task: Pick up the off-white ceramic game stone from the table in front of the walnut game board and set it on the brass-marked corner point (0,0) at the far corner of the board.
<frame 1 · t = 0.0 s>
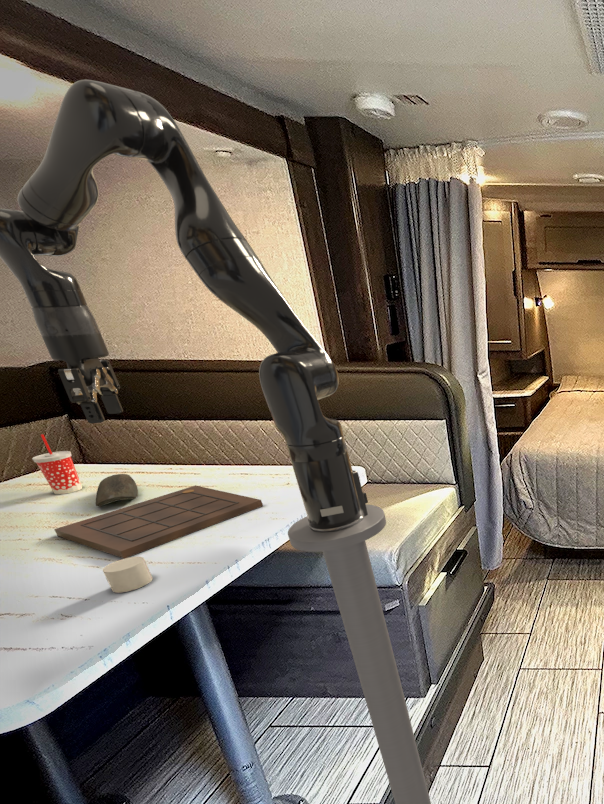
hand: (107, 417, 98), 21 cm above the table, tool pointing down, fingers open, 8 cm apart
beverage cup: (68, 491, 120), on the table
game stone: (132, 584, 81), on the table
game board: (166, 520, 104), on the table
decorative stone: (119, 498, 115), on the table
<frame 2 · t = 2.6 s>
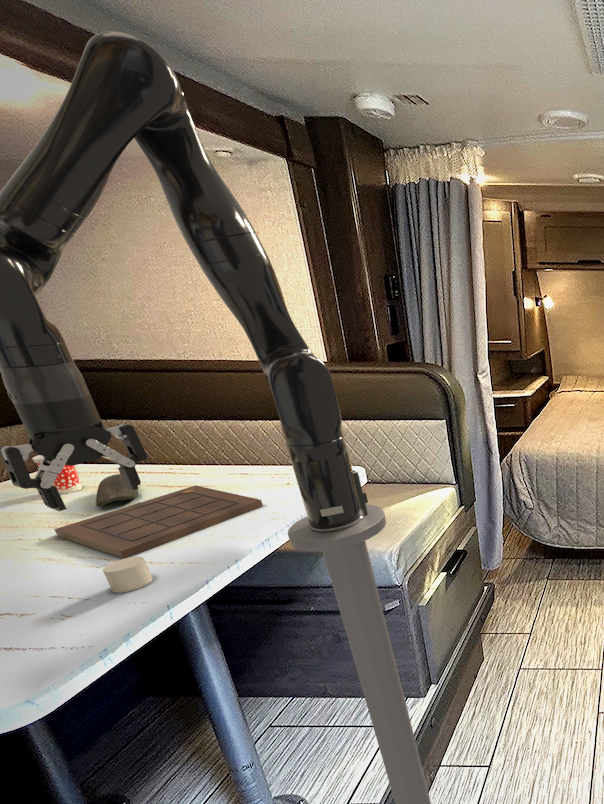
hand: (98, 498, 78), 14 cm above the table, tool pointing down, fingers open, 8 cm apart
nothing on the table moved.
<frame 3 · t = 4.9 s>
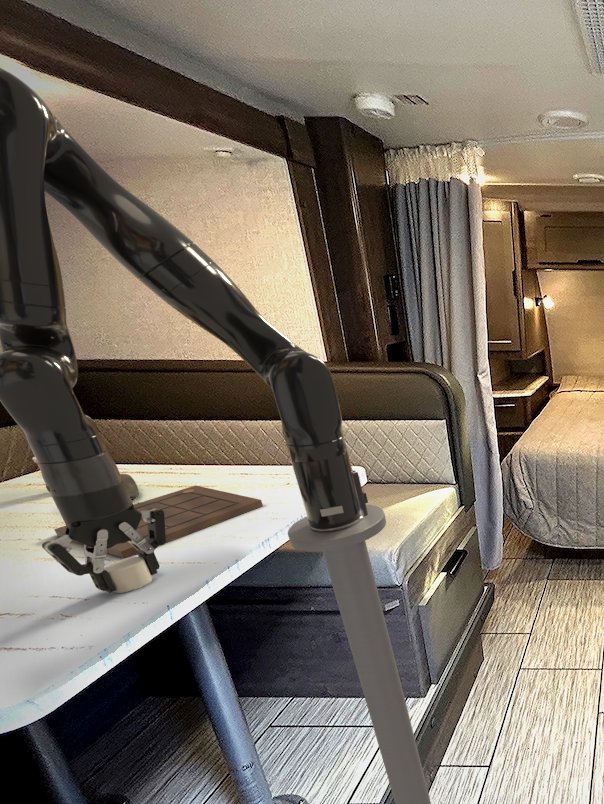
hand: (131, 581, 81), 1 cm above the table, tool pointing down, fingers closed on game stone, 4 cm apart
game stone: (132, 584, 81), on the table, touching gripper
everything else where it was.
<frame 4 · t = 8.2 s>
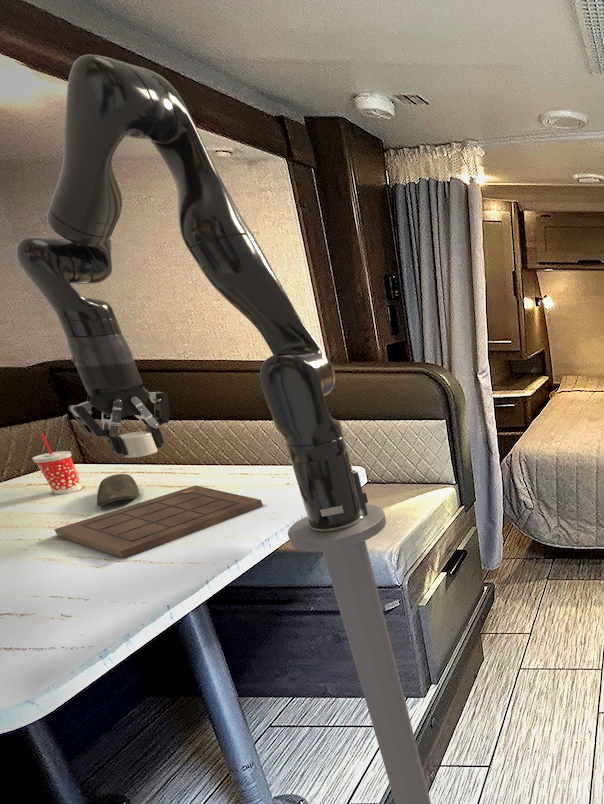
hand: (140, 450, 96), 16 cm above the table, tool pointing down, fingers closed on game stone, 4 cm apart
game stone: (141, 453, 96), point 15 cm above the table, touching gripper
everything else where it was.
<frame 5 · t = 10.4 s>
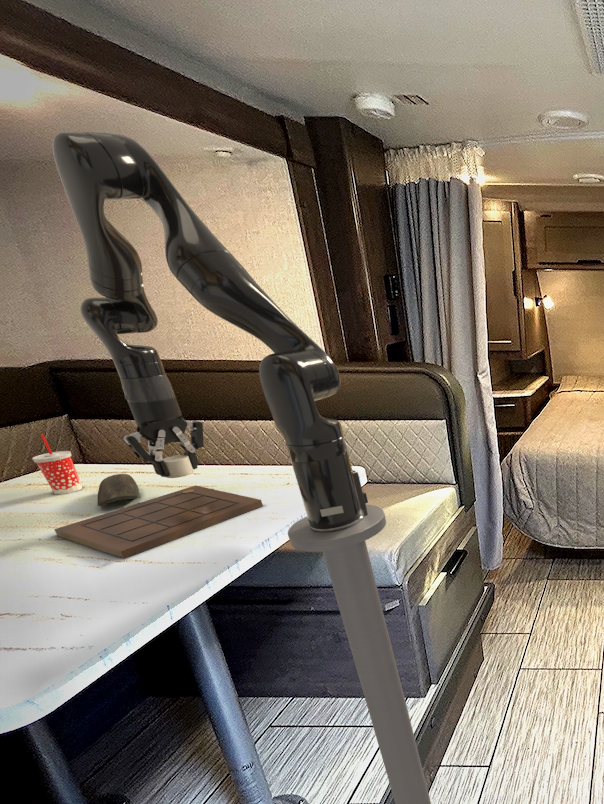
hand: (179, 471, 112), 6 cm above the table, tool pointing down, fingers closed on game stone, 4 cm apart
game stone: (180, 474, 112), point 6 cm above the table, touching gripper
everything else where it was.
when the fingers open (2 cm above the table, at t = 11.9 s): game stone stays where it is, resting on game board.
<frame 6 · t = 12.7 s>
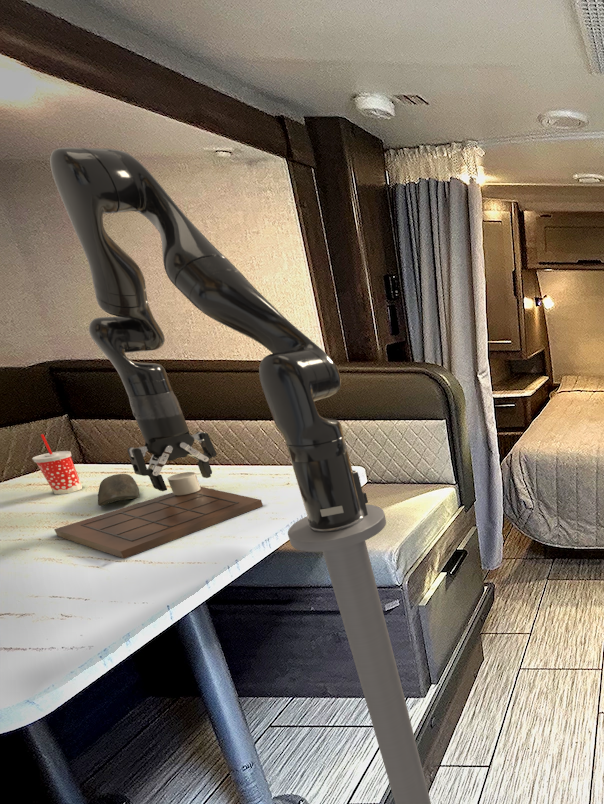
hand: (185, 483, 113), 3 cm above the table, tool pointing down, fingers open, 8 cm apart
game stone: (187, 491, 114), point 2 cm above the table, touching game board
everything else where it was.
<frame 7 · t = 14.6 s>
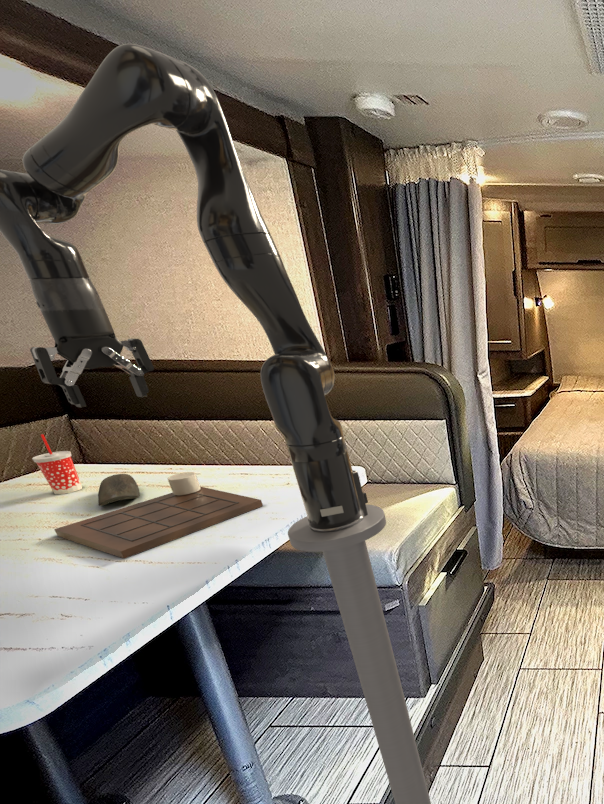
hand: (113, 401, 91), 26 cm above the table, tool pointing down, fingers open, 8 cm apart
nothing on the table moved.
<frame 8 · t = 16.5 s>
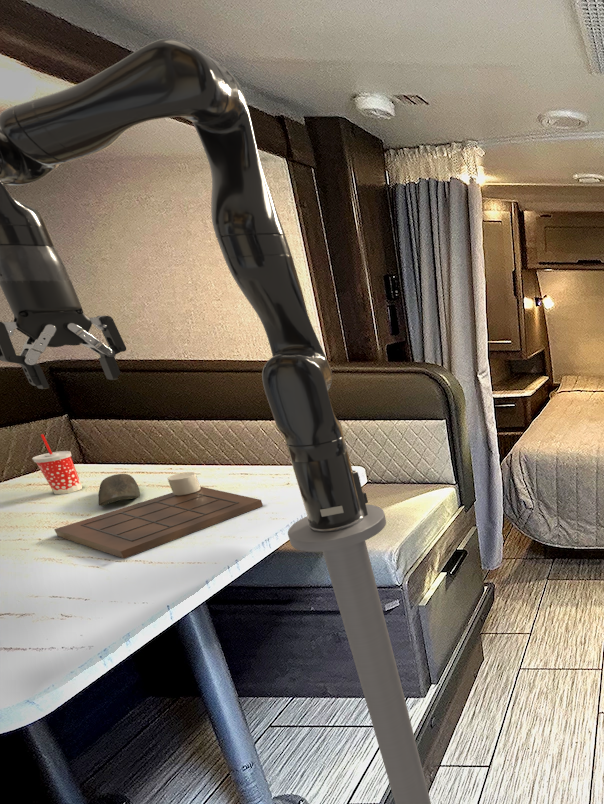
hand: (80, 383, 83), 30 cm above the table, tool pointing down, fingers open, 8 cm apart
nothing on the table moved.
at the end: game stone 0.1 cm from the target spot on the game board, point 1.6 cm above the game board's base; game stone tilted 0°; the gripper is holding nothing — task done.
